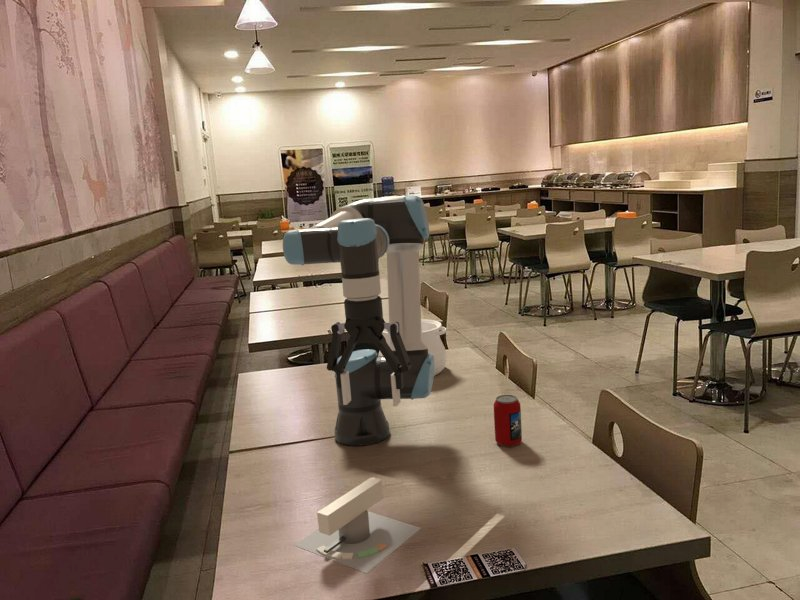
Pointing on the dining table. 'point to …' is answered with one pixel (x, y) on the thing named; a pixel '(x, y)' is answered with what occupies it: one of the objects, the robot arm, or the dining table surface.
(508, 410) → the beverage can
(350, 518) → the rotary bar knob
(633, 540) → the dining table surface
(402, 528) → the tuner board
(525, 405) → the dining table surface
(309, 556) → the dining table surface
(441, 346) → the pot
